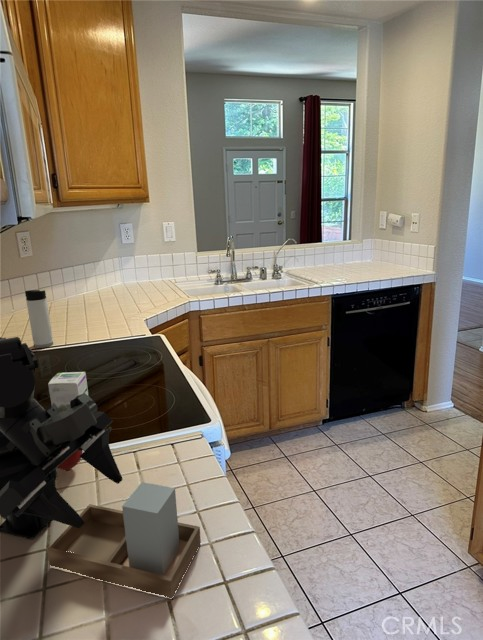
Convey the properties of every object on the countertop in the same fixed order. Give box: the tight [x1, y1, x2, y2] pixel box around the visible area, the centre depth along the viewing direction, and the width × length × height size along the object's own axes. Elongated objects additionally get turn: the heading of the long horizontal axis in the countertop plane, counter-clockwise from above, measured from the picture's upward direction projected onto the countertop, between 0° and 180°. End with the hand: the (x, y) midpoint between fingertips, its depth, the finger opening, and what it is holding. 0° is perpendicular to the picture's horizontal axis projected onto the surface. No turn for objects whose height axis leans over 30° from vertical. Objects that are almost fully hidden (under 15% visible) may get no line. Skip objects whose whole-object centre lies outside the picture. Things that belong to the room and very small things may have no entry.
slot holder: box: [46, 503, 202, 598], centre depth 60 cm, size 18×9×3 cm, turn 73°
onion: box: [56, 448, 84, 472], centre depth 80 cm, size 6×6×8 cm
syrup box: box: [47, 371, 89, 413], centre depth 88 cm, size 6×6×14 cm
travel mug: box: [24, 289, 54, 349], centre depth 149 cm, size 6×7×20 cm
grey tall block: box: [121, 481, 180, 576], centre depth 58 cm, size 5×5×10 cm
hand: (102, 502), depth 60 cm, fingers open, 9 cm apart
